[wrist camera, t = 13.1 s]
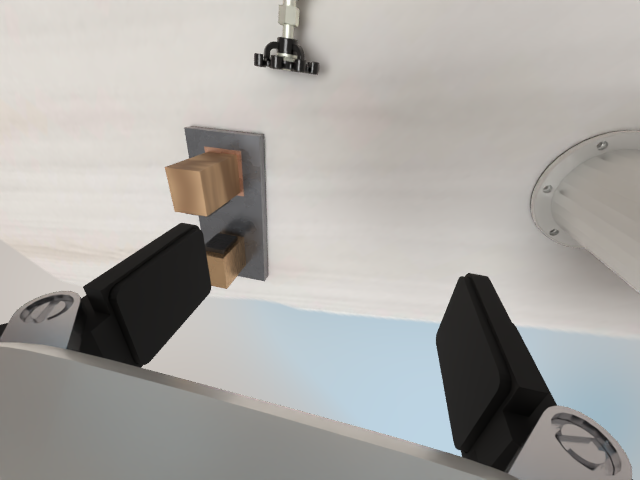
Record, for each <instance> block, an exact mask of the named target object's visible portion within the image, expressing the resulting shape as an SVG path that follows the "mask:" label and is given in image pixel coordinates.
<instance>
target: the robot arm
mask: <svg viewBox="0 0 640 480" xmlns="http://www.w3.org/2000/svg"><path fill="white" fill-rule="evenodd" d="M598 144H599V145H598ZM597 145H598V146H597ZM545 186H546V187H545ZM544 187H545V188H544ZM531 213H532V218H533V220H534V222H535V224H536V226H537V227H538V228H539V229H540V230H541V232H542V233H543V234H545V235H546V236H547V237H548V238H549V239H551V240H553V241H555V242H556V243H559V244H562V245H565V246H568V247H574V248H586V249H587V250H588V251H589V252H590V253H592V254H593V255H594V256H595V257H596V258H598V259H599V260H600V261H601V262H602V263H603V264H605V265H606V266H607V267H608V268H609V269H611V270H612V271H613V272H614V273H615V274H617V275H618V276H619V277H620V278H621V279H623V280H624V281H625V282H626V283H627V284H629V285H630V286H631V287H632V288H633V289H635V290H636V291H637V292H638V293H639V294H640V131H632V130H629V131H616V132H611V133H607V134H603V135H599V136H596V137H594V138H591V139H588V140H586V141H584V142H582V143H580V144H578V145H576V146H574V147H572V148H571V149H569V150H568V151H566V152H565V153H564V154H562V155H561V156H560V157H558V158H557V159H556V160H555V161H554V162H553V163H552V164H551V165H550V166H549V167H548V168H547V169H546V171H545V172H544V173H543V174H542V176H541V177H540V179H539V180H538V182H537V184H536V186H535V188H534V191H533V194H532V198H531ZM83 288H84V290H85V292H86V296H85V297H83V298H82V299H81V297H80V296H79V295H78V294H77V293H75V292H72V291H59V292H53V293H49V294H46V295H43V296H40V297H38V298H35V299H33V300H31V301H29V302H27V303H26V304H24V305H23V306H21V307H20V308H19V309H18V310H17V311H16V312H15V313H14V314H13V316H12V318H11V319H10V321H9V323H6V324H2V325H0V480H633V479H632V466H631V464H630V462H629V459H628V457H627V455H626V453H625V452H624V450H623V449H622V448H621V446H620V445H619V443H618V442H617V441H616V440H615V439H614V438H613V437H612V436H611V435H610V434H609V433H608V432H607V431H606V430H605V429H604V428H603V427H602V426H600V425H599V424H598V423H596V422H595V421H594V420H593V419H591V418H589V417H588V416H586V415H584V414H582V413H581V412H579V411H576V410H573V409H571V408H568V407H563V406H557V404H556V403H555V401H554V399H553V397H552V395H551V393H550V391H549V389H548V387H547V385H546V383H545V381H544V380H543V378H542V376H541V374H540V372H539V370H538V368H537V366H536V364H535V362H534V360H533V358H532V356H531V355H530V353H529V351H528V349H527V347H526V345H525V343H524V341H523V339H522V337H521V335H520V333H519V332H518V330H517V328H516V326H515V325H514V324H513V323H512V322H511V320H510V318H509V316H508V314H507V312H506V310H505V308H504V306H503V304H502V302H501V300H500V298H499V297H498V295H497V293H496V291H495V289H494V287H493V285H492V283H491V281H490V279H489V278H488V277H487V276H482V275H477V274H471V273H468V274H467V275H466V276H465V277H463V276H461V277H460V278H459V279H458V282H457V284H456V287H455V289H454V292H453V294H452V297H451V299H450V302H449V304H448V307H447V309H446V312H445V314H444V317H443V319H442V322H441V324H440V327H439V329H438V332H437V335H436V346H437V351H438V356H439V362H440V368H441V373H442V379H443V385H444V391H445V396H446V402H447V407H448V413H449V419H450V424H451V429H452V435H453V441H454V445H455V447H456V448H457V449H458V450H461V453H462V457H460V456H456V455H453V454H450V453H447V452H443V451H440V450H436V449H433V448H430V447H426V446H423V445H419V444H416V443H413V442H409V441H406V440H403V439H399V438H395V437H392V436H389V435H385V434H381V433H378V432H375V431H371V430H367V429H363V428H360V427H356V426H352V425H349V424H346V423H342V422H339V421H335V420H331V419H328V418H324V417H320V416H317V415H313V414H310V413H306V412H303V411H299V410H295V409H291V408H288V407H284V406H281V405H277V404H273V403H270V402H266V401H262V400H258V399H255V398H251V397H248V396H244V395H240V394H237V393H233V392H229V391H225V390H222V389H218V388H214V387H210V386H207V385H203V384H200V383H196V382H192V381H189V380H185V379H181V378H177V377H173V376H170V375H166V374H162V373H158V372H154V371H151V370H146V369H143V368H141V367H142V366H143V365H145V364H147V363H149V362H150V361H151V360H152V359H153V357H154V356H155V355H156V354H157V353H158V352H159V350H160V349H161V348H162V347H163V346H164V345H165V344H166V343H167V341H168V340H169V339H170V338H171V337H172V336H173V335H174V333H175V332H176V331H177V330H178V329H179V328H180V327H181V325H182V324H183V323H184V322H185V321H186V320H187V318H188V317H189V316H190V315H191V314H192V313H193V311H194V310H195V309H196V308H197V307H198V306H199V305H200V304H201V302H202V301H203V300H204V299H205V298H206V297H207V296H208V294H209V293H210V290H211V280H210V274H209V267H208V261H207V255H206V249H205V242H204V236H203V232H202V231H201V230H200V229H199V227H198V226H196V225H192V224H186V223H180V224H178V225H177V226H175V227H174V228H172V229H171V230H169V231H168V232H166V233H165V234H163V235H161V236H160V237H158V238H157V239H155V240H154V241H152V242H151V243H149V244H148V245H146V246H145V247H143V248H142V249H140V250H139V251H137V252H135V253H134V254H132V255H131V256H129V257H128V258H126V259H125V260H123V261H122V262H120V263H119V264H117V265H116V266H114V267H113V268H111V269H110V270H108V271H106V272H105V273H103V274H102V275H100V276H99V277H97V278H96V279H94V280H93V281H91V282H90V283H88V284H87V285H85V286H84V287H83Z"/></svg>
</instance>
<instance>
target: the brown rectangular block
mask: <svg viewBox="0 0 640 480" xmlns="http://www.w3.org/2000/svg"><path fill="white" fill-rule="evenodd" d="M165 170H166V174H167V179H168V183H169V188H170V192H171V197H172V201H173V206H174V210H175V212H181V213H185V214H192V215H198V216H205V217H210V216H211V215H212V214H214V213H215V212H217V211H218V210H219V209H221V208H222V207H223V206H225V205H226V204H228V203H229V202H230V200H231V199H232V198H234V197H235V196H236V195H238V194H239V193H241V192H240V182H239V171H238V161H237V155H234V154H225V153H216V152H206V153H203V154H200V155H198V156H195V157H192V158H189V159H186V160H184V161H181V162H178V163H175V164H173V165H170V166H167V167H165Z"/></svg>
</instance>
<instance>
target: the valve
mask: <svg viewBox="0 0 640 480" xmlns="http://www.w3.org/2000/svg"><path fill="white" fill-rule="evenodd" d="M296 1H297V0H283V5H279V20H278V23H279V24H280V25H283V37H278V38H277V42H270V43H269V44H267V46H266V47H265V49H264V60H263V54H257V53H255V54H254V65H255V66H259V67H266V66H267V67H270V68H273V69H281V70H288V71H294V72H302V73H309V74H316V75H318V71H319V63H317V62H312V63H310V62H308V64H306V60H304V52H303V49H302V47H301V46H299V45H298V40H295V39H293V30H294V27H298V25H299V9H298V8H297V7H296ZM271 49H277V56H275V55H271V57H270V51H271Z"/></svg>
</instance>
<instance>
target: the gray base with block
mask: <svg viewBox="0 0 640 480" xmlns="http://www.w3.org/2000/svg"><path fill="white" fill-rule="evenodd" d="M184 129H185V135H186V141H187V147H188V153H189V158H192V157H195V156H198V155H200V154H203V153H206V152H216V153H225V154H234V155H237V161H238V171H239V182H240V192H241V193H239V194H238V195H236V196H235V197H234V198H232V199H231V200H230V202H229V203H228V204H226V205H225V206H223V207H222V208H221V209H219V210H218V211H217V212H215V213H214V214H212V215H211V216H210V217H205V216H199V221H200V227H201V231H202V232H203V236H204V242H205V249H206V255H207V261H208V267H209V274H210V280H211V286H216V287H220V288H225V289H227V288H228V287H229V286H230V284H231V283H232V282H233V281H234V279H235V278H236V277H237V276H241V277H246V278H251V279H256V280H261V281H265V280H266V278H267V277H268V254H267V220H266V186H265V152H264V134H255V133H246V132H238V131H229V130H220V129H211V128H203V127H194V126H190V127H185V128H184Z"/></svg>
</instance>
